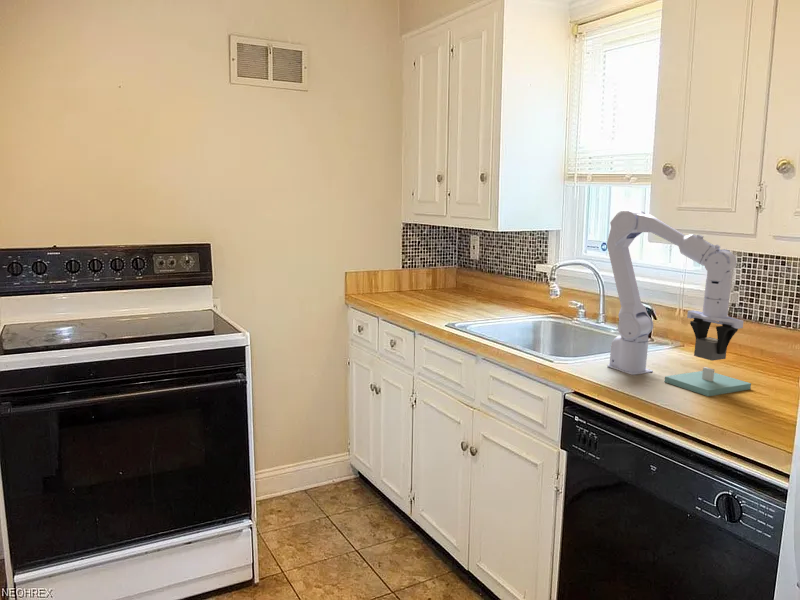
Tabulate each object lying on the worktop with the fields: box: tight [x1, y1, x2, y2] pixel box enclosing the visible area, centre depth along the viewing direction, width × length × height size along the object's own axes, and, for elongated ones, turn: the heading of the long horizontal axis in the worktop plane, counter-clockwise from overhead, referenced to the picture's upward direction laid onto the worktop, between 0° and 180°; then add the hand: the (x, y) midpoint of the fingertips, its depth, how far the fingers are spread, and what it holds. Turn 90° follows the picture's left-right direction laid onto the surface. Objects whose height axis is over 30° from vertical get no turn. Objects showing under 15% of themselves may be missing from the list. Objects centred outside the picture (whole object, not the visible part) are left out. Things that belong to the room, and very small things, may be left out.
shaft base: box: [664, 366, 752, 397], centre depth 165 cm, size 13×16×4 cm
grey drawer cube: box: [693, 336, 728, 362], centre depth 164 cm, size 5×5×5 cm
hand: (710, 350), depth 164 cm, fingers closed on grey drawer cube, 5 cm apart
